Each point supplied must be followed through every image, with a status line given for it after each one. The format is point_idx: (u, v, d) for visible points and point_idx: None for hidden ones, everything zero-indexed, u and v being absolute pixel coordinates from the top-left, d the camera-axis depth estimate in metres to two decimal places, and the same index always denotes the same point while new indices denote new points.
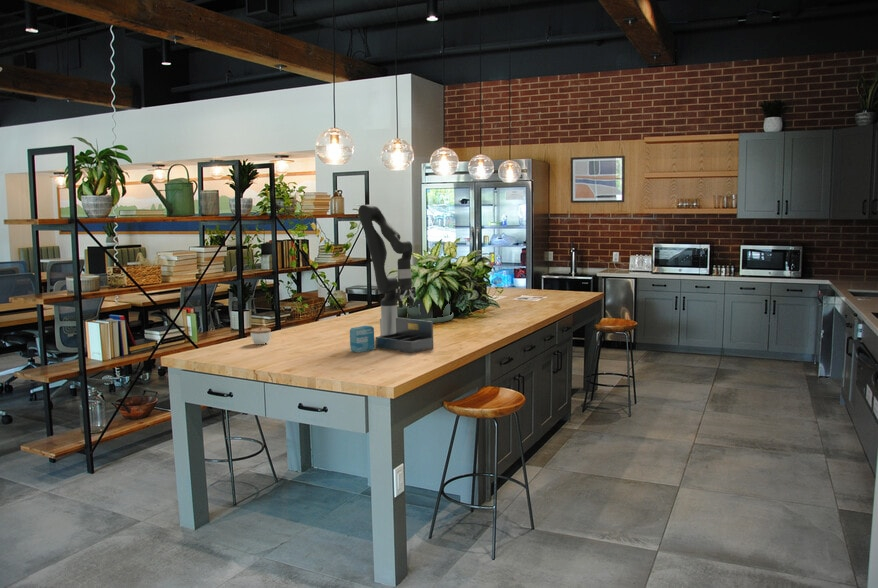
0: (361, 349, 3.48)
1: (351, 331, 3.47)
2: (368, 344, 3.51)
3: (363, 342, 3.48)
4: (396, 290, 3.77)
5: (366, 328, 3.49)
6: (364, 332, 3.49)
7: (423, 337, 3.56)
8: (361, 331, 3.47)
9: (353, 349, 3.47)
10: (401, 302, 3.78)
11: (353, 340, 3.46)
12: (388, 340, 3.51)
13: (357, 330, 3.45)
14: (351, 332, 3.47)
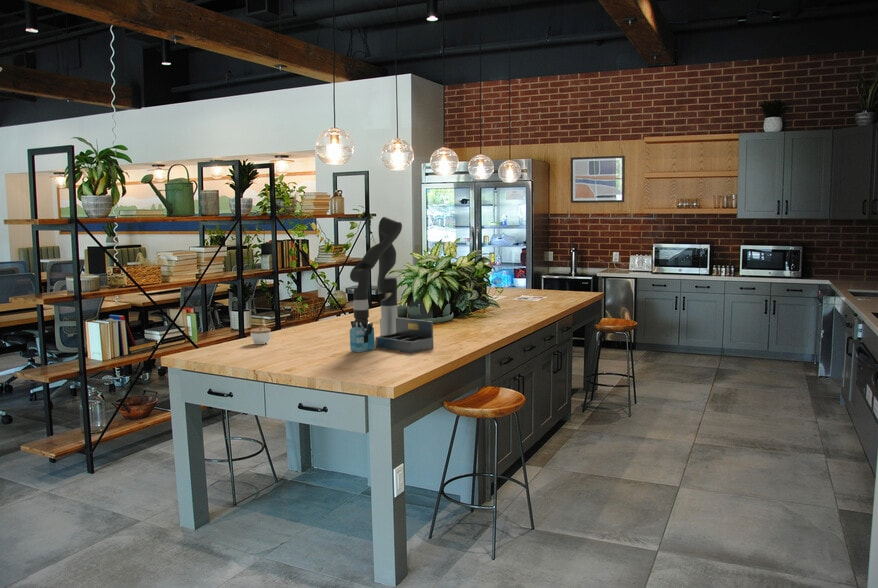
0: (361, 349, 3.48)
1: (351, 331, 3.47)
2: (368, 343, 3.51)
3: (363, 342, 3.48)
4: (370, 324, 3.45)
5: (366, 328, 3.49)
6: None
7: (423, 337, 3.56)
8: (361, 331, 3.47)
9: (353, 349, 3.47)
10: None
11: (353, 340, 3.46)
12: (388, 340, 3.51)
13: (357, 330, 3.45)
14: (351, 332, 3.47)
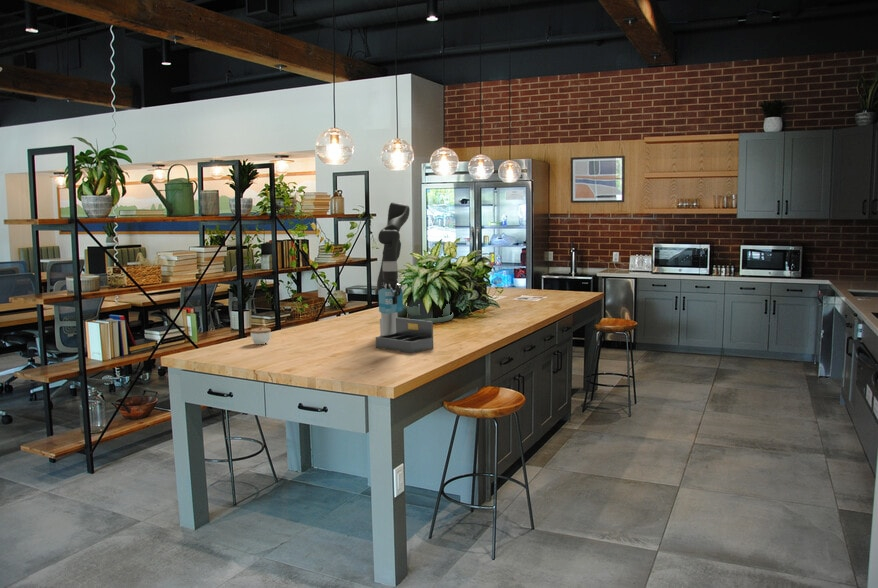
0: (390, 311, 3.49)
1: (380, 292, 3.48)
2: (397, 305, 3.52)
3: (391, 304, 3.49)
4: (399, 286, 3.46)
5: (395, 289, 3.50)
6: None
7: (423, 337, 3.56)
8: (389, 292, 3.48)
9: (382, 310, 3.48)
10: None
11: (382, 301, 3.47)
12: (388, 340, 3.51)
13: (386, 291, 3.47)
14: (380, 293, 3.48)
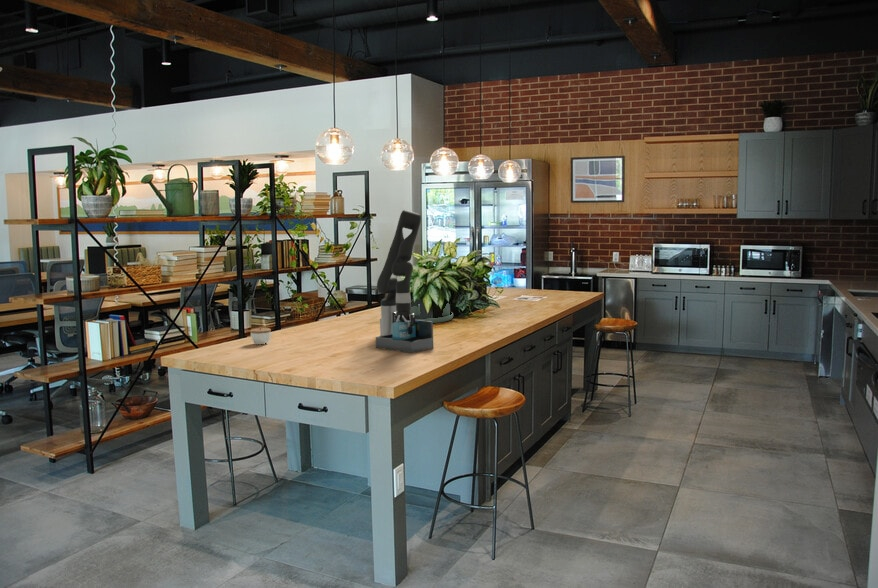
0: None
1: (394, 325, 3.51)
2: None
3: (405, 337, 3.53)
4: (413, 315, 3.49)
5: None
6: (406, 326, 3.53)
7: (423, 337, 3.56)
8: (403, 325, 3.51)
9: None
10: None
11: (396, 335, 3.50)
12: (388, 340, 3.51)
13: (400, 324, 3.50)
14: (394, 326, 3.51)
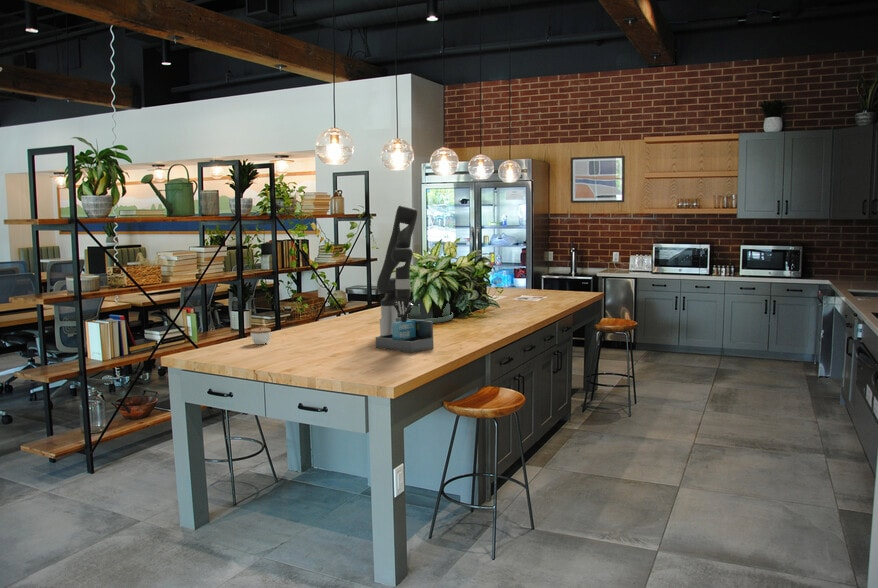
0: None
1: (394, 325, 3.51)
2: None
3: (405, 337, 3.53)
4: (411, 306, 3.49)
5: (408, 322, 3.54)
6: (406, 326, 3.53)
7: (423, 337, 3.56)
8: (403, 325, 3.51)
9: None
10: None
11: (396, 335, 3.50)
12: (388, 340, 3.51)
13: (400, 324, 3.50)
14: (394, 326, 3.51)
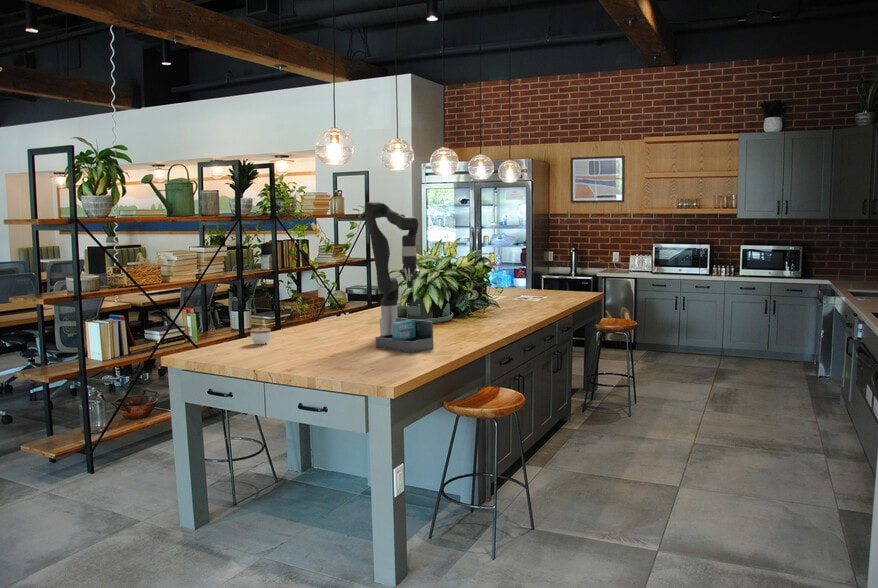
0: None
1: (394, 325, 3.51)
2: None
3: (405, 337, 3.53)
4: (417, 272, 3.63)
5: (408, 322, 3.54)
6: (406, 326, 3.53)
7: (423, 337, 3.56)
8: (403, 325, 3.51)
9: None
10: None
11: (396, 335, 3.50)
12: (388, 340, 3.51)
13: (400, 324, 3.50)
14: (394, 326, 3.51)
